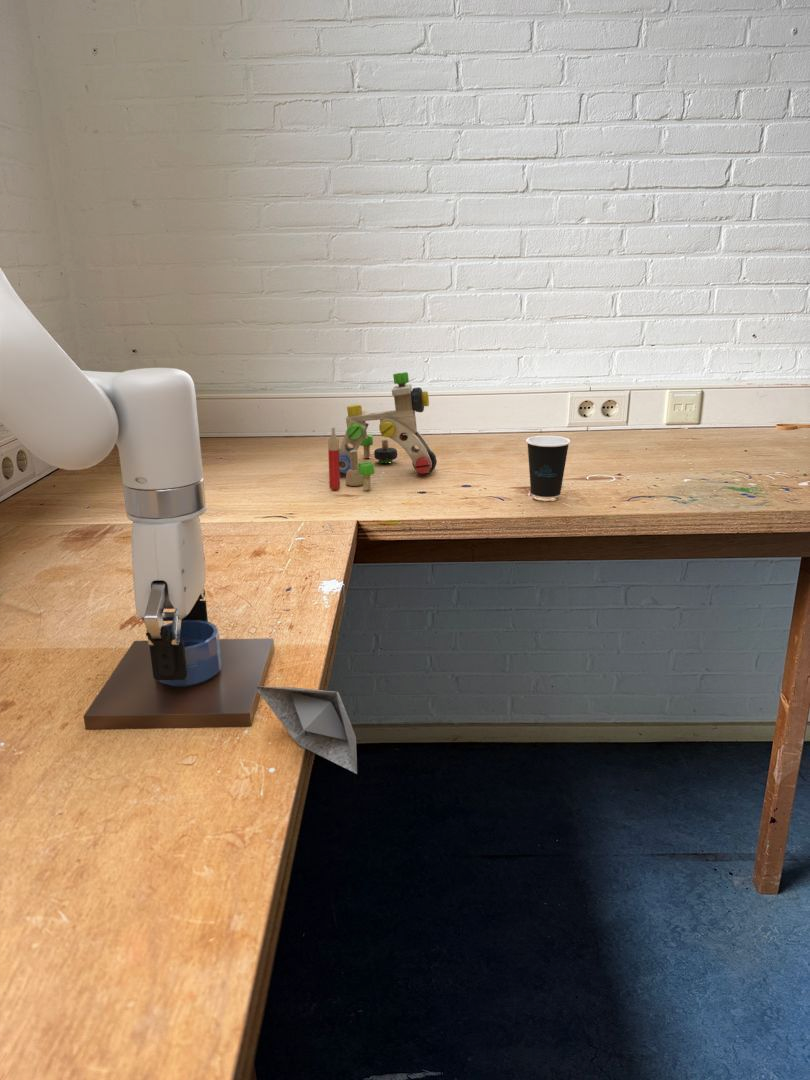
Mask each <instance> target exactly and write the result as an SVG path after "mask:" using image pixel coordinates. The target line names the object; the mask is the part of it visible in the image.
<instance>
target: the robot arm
mask: <svg viewBox="0 0 810 1080" xmlns="http://www.w3.org/2000/svg"><path fill="white" fill-rule="evenodd" d="M0 423H1V425H3V426H4V427H5V428H6V429H7V430H8V431H9V432H10V433H11V434H12V435H13V436H14V437H15V438H16V439H17V440H18V441H19V442H20V443H21V444H22V445H23V446H24V447H25V448H26V449H27V450H28V451H29V452H31V454H33V456H35V457H36V458H38V459H39V460H41V461H42V462H44V463H46V464H47V465H49V466H52V467H55V468H58V469H61V470H67V471H79V470H80V471H81V470H86V469H89V468H91V467H93V466H96V465H98V464H99V463H101V462H103V461H104V460H105V459H106V458H107V457H108V456H109V455H110V454H111V452H112V450H113V449H114V448H115V445H116V447H117V449H118V456H119V457H118V458H119V463H120V471H121V472H120V473H121V479H122V488H123V496H124V504H125V505H124V506H125V512H126V513H125V514H126V518H127V519H128V520H129V521H131V522H132V523H131V566H132V567H131V568H132V580H133V582H132V583H133V592H134V604H135V605H134V607H135V612H136V616H137V618H138V619H139V620H142V621H143V622H144V625H145V629H146V632H145V635H146V637H147V641H148V645H149V647H150V654H151V662H152V670H153V677H154V679H155V680H184V679H185V678H186V676H187V668H186V659H185V649H184V641H180V631H181V621H183V620H202V621H207V622H209V618H208V608H207V600H205V599H206V589H205V585H206V581H207V579H206V578H207V577H206V576H207V573H206V558H205V557H206V556H205V548H204V542H203V533H202V528H201V527H202V526H201V519H200V516H202V515H204V514H205V513H206V512H207V500H206V491H205V490H206V489H205V480H204V470H203V458H202V448H201V438H200V428H199V417H198V406H197V394H196V387H195V382H194V380H193V378H192V376H191V375H190V374H189V373H188V372H186V371H185V370H182V369H179V368H173V367H143V368H135V369H128V370H125V371H121V372H120V371H119V372H117V371H115V372H114V371H95V370H82V369H81V368H80V367H79V366H78V365H77V364H76V363H75V361H74V360H73V359H71V357H70V356H69V354H68V353H66V352H65V350H64V349H63V348H62V346H60V345H59V343H58V342H57V341H56V340H55V338H53V337H52V335H51V334H50V333H49V332H48V330H47V329H46V328H45V327H44V326H43V325H42V324H41V323H40V321H39V320H38V319H37V318H36V317H35V315H34V314H33V312H31V310H30V309H29V308H28V307H27V305H26V304H25V303H24V301H23V300H22V299H21V298H20V296H19V295H18V293H17V292H16V291H15V289H14V288H13V286H12V285H11V283H10V281H9V280H8V278H7V276H6V274H5V272H4V271H3V270H2V268H1V267H0ZM164 610H174V611H164ZM164 622H171V623H172V632H171V631H170V629H169V628H168V627H167V626H164Z"/></svg>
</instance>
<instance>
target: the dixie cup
mask: <svg viewBox="0 0 810 1080" xmlns="http://www.w3.org/2000/svg"><path fill="white" fill-rule="evenodd" d="M525 442H526V443H527V457H528V472H529V485H530V494H531V496H534V497H536V498H542V499H550V498H556V497H558V496H559V497H560V495H561V492H562V486H563V480H564V473H565V470H566V462H567V456H568V451H569V445H570V444H571V440H570V439H569V438H567V437H563V436H558V435H535V436H530V437H528V438H526V441H525Z"/></svg>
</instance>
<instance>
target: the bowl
mask: <svg viewBox="0 0 810 1080" xmlns="http://www.w3.org/2000/svg"><path fill="white" fill-rule="evenodd" d="M172 623H173V622H169V623H166V624H163V626H167V627H168V628H169V629H170V631H171V632H172ZM219 639H220V633H219V629H218V627H217V625H216V624H214V623H212V622H211V621H208V622H207V621H202V620H183V621H181V631H180V641H184V649H185V659H186V668H187V676H186V678H185V679H184V680H158V681H159V682H161V683H163V684H167V685H170V686H175V687H186V686H193V685H197V684H200V683H203V682H205V681H207V680H209V679H210V678H211V677H213V676H214V675H215V674H217V673H218V672H219V671H220V668H221V666H222V662H221V652H220V642H219Z"/></svg>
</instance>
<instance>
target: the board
mask: <svg viewBox="0 0 810 1080" xmlns="http://www.w3.org/2000/svg"><path fill="white" fill-rule="evenodd" d="M274 641H275V639H274V638H272V637H270V638H269V637H268V638H267V637H266V638H223V639H222V638H219V642H220V652H221V662H222V666H221V668H220V671H219V672H218V673H217V674H215V675H214V676H213V677H211V678H210V679H209V680H207V681H205V682H203V683H200V684H197V685H193V686H186V687H175V686H170V685H167V684H163V683H161V682H159V681H158V680H155V679H154V677H153V670H152V662H151V654H150V647H149V645H148V640H134V641H133V642H132V643H131V645H130V646H129V648H128V649H127V651H126V652H125V654H124V656H122V658H121V660H120V661H119V662H118V664H117V666H116V667H115V669H114V670H113V671H112V672H111V675H110V676H109V677H108V679H107V680H106V681H105V684H104V685H103V687H102V688H101V689H100V691H99V692H98V693H97V695H96V696H95V698H94V700H93V701H92V703H91V704H90V706H89V707H88V709H87V710H86V712H85V713H84V715H83V723H84V728H85V730H121V729H122V730H124V729H125V730H126V729H130V730H131V729H175V728H176V729H178V728H180V729H181V728H229V727H230V728H231V727H234V728H235V727H236V728H237V727H252V724H253V721H254V718H255V714H256V712H257V707H258V705H259V701H260V698H261V695H260V693H259V692H258V691H257V689H256V688H255V687H254V686H261V687H264V685H265V681H266V678H267V675H268V672H269V669H270V665H271V662H272V658H273V655H274V652H275V642H274Z"/></svg>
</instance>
